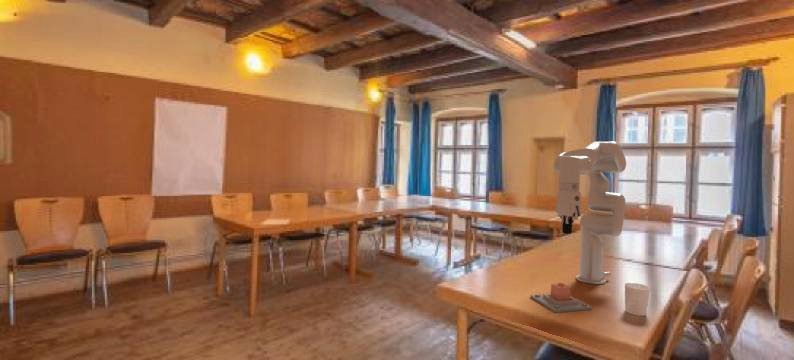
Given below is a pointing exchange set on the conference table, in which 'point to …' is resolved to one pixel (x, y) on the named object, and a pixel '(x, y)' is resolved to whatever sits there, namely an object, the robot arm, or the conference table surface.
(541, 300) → the baseplate
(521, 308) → the conference table surface
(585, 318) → the conference table surface
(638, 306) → the white cup
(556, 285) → the pink knobbed block
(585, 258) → the robot arm
